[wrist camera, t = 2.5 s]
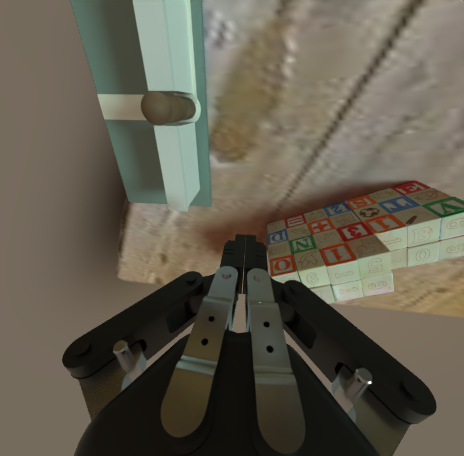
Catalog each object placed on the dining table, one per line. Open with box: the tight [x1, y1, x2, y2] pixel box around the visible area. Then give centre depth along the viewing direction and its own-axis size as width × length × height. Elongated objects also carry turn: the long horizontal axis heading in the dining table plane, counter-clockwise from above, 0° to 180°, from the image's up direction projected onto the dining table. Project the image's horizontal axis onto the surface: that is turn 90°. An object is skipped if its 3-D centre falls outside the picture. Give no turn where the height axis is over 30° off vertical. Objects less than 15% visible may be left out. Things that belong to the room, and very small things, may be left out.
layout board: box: [70, 0, 212, 207], centre depth 25 cm, size 27×14×1 cm, turn 179°
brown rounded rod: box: [141, 91, 196, 126], centre depth 21 cm, size 3×3×10 cm
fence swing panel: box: [154, 122, 200, 211], centre depth 24 cm, size 9×2×7 cm, turn 179°
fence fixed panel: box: [133, 0, 193, 94], centre depth 18 cm, size 9×2×7 cm, turn 179°
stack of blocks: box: [267, 181, 464, 304], centre depth 26 cm, size 21×6×12 cm, turn 113°
